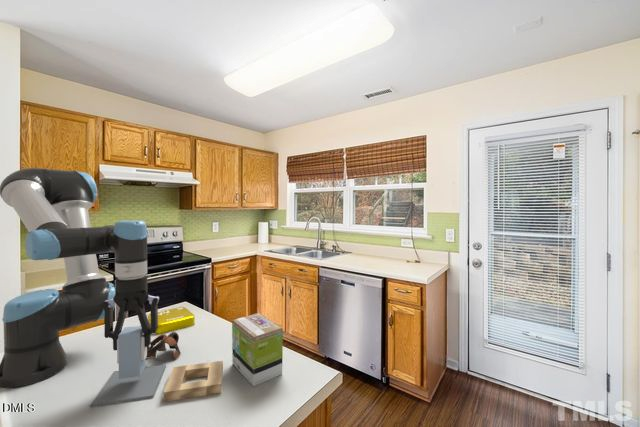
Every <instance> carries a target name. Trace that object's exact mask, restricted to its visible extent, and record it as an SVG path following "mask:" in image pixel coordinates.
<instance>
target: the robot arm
mask: <svg viewBox="0 0 640 427" xmlns="http://www.w3.org/2000/svg"><path fill="white" fill-rule="evenodd" d="M0 197H1V199H2V201H3V202H4V203H5V204H6V205H7V206H9V207H11V208H13V209H14V211H15V212H16V214H17V216H18V217H19V219H20V220H21V221H22V224H23V225H24V226H25V229H26V230H27V231H28V232H27V234H26V235H25V239H24V240H25V241H24V242H25V243H24V246H25V251H26V255H27V257H28V258H29V259H30V260H32V261H43V260H44V261H46V260H47V261H52V260H57V259H63V261H64V266H65V267H64V268H65V275H66V282H65V283H64V284H63V286H61V287H62V288H61V289H62V291H61V292H59V290H58V289H56V288H46V289H40V290H36V291H35V290H34V291H30V292H27V293H24V294H21V295H18V296H16V297H14V298H12V299H10V300H9V301H7V303H5V304H4V307H3V315H2V322H3V347H4V349H3V350H4V351H3V352H4V353H3V356H2V357H1V358H2V359H1V361H0V388H9V389H10V388H17V387H22V386H27V385H31V384H35V383H38V382H41V381H43V380H47V379H49V378H51V377H53V376H54V375H56V374H58V373H60V372H61V371H62V370H64V369H65V368H66V367H67V364H68V355H67V353H66V352H65V350H64V348H63V346H62V343H61V342H60V331H64V330H67V329H71V328H75V327H79V326H82V325H86V324H89V323H92V322H93V323H94V322H98V321H100V320H103V319H104V333H103V334H104V338H105V339H108V338H109V339H112V349H113V351H116V353H117V354H116V356H117V357H116V360H117V361H116V363H117V364H119V346H118V335H119V334H120V333H121V331H122V330H123V327H124V324H125V323H124V322H125V320H126V316H127V313H128V312H129V311H133V312H134V311H135V313H136V315H137V318H138V320H139V323H140V324H139V325H140V326H141V327H142V330H143V335H142V337H141V361H142V360H145V361H146V359H147V358H146V356H147V347H150V346H151V345H150V343H151V342H152V339H151V338H152V337H151V336H152V334H154V333H155V332H156V331H157V329H158V312H159V310H158V304H159V301H160V296H159V295H156V296H154V295H150V293H149V291H148V276H147V274H148V230H147V228H148V227H147V223H146V221H144V220H133V219H132V220H119V221H116V222H115V223H114V225H113V224H112V225H102V226H91V225H92V224H91V219H90V213H89V210H90V209H91V208H92V207H93V203H95V202H96V201H97V199H98V187H97V184H96V181H95V180H94V178H93V176H92V175H90V174H89V173H87V172H84V171H77V170H65V169H64V170H61V169H52V168H51V169H50V168H40V167H29V168H22V169H19V170H16V171H14V172H12V173H10V174H8V175H7V176H6V177H5V178H4V179H3V180H2V181H1V182H0ZM108 253H114V276H115V277H116V279H115V281H114V282H115V283H114V284H113V283H111V282H107V279H106V277H105V276H103V275H101V274H100V269H99V265H98V258H97V255H98V254H108ZM147 301H149V302H148V304H149V305H150V314H151V328H150V325H149V322H148V315H147V313H146V309H145V304H146V302H147ZM116 305H117V306H118V307H119V311H118V317H117V320H116V324H115V327H114V310H115V307H116Z"/></svg>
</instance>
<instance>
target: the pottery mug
mask: <svg viewBox="0 0 640 427" xmlns="http://www.w3.org/2000/svg"><path fill="white" fill-rule="evenodd" d="M179 337H180V336H179V334H178V332H176V331H171V332H169V334H168V335H167V333H163V334H159V336H158V335H157V337H155V338H154V339H153V340H151V343H150V345H149V347H147V356H146V358H145V359H149V358H155V359H156V358H157V352H166V351H167V347H166V344H167V345H168V347H169V349H170V350H171V349H173V350H174V349H175V351H174V353H173V354H172V357H174V361H176V360H178V358H179V357H180V356H181V350H180V348H179V345H178V343H179V339H180V338H179Z"/></svg>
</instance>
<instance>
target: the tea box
mask: <svg viewBox="0 0 640 427" xmlns="http://www.w3.org/2000/svg"><path fill="white" fill-rule="evenodd" d="M231 324H232V325H231V326H232V327H231V330H232V333H231V336H232V338H231V339H232V341H231V345H232V347H231V349H232V350H231V351H232V357H231V358H232V360H231V362H232V364H233V365H234V367H235V368H236V369H237V370H238V371H239V372H240V373H241V375H243V377H244V378H246V380H247V381H248V382H249V383H250V384H251V385H252V386H253V387H256V386H258V385H261V384H262V383H265V382H268V381H270V380H273V379H274V378H276V377H278V376H280V375H283V357H284V356H283V352H284V349H283V344H284V343H283V342H284V340H283V339H284V336H283V334H284V333H283V332H284V331H283V330H284V328H283V327H282V326H280V325H279V324H278V323H276V322H274V321H273V320H271V319H269V318H268V317H267V316H265V315H264V314H262V313H260V312H258V313H253V314H250V315H247V316H242V317H239V318H236V319H232V320H231Z"/></svg>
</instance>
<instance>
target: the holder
mask: <svg viewBox="0 0 640 427" xmlns="http://www.w3.org/2000/svg"><path fill="white" fill-rule="evenodd" d="M171 369H172V370H171V371H170V375H169V376H168V377H169V378H168V379H167V382H166V386H165V388H164V391H163V402H171V401H178V400H184V399H190V398H196V397H203V396H209V395H217V394H222V390H223V389H222V387H223V385H222V384H223V376H224V374H223V373H224V372H223V371H224V360H219V361H211V362H210V361H209V362H201V363H193V364H187V365H179V366H172V368H171ZM201 377H202V378H203V377H207V379H205V380H198V381H191V382H186V379H193V378H201Z"/></svg>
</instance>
